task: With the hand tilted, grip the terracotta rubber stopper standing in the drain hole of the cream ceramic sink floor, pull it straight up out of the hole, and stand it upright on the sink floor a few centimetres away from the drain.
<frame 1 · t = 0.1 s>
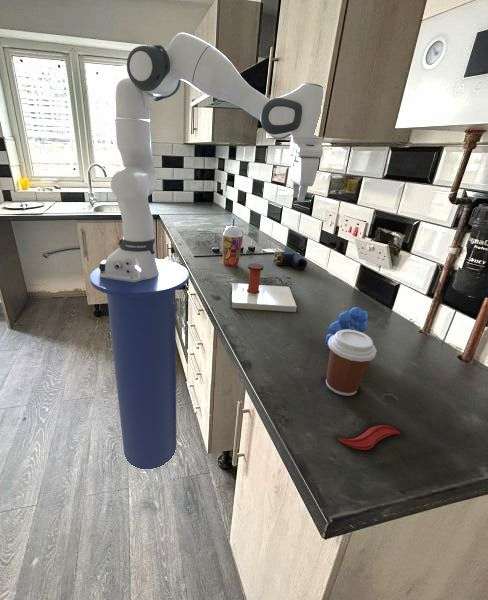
hand: (297, 199, 100), 32 cm above the countertop, tool pointing down, fingers open, 8 cm apart
cayenne pepper: (370, 439, 57), on the countertop
sink floor: (261, 299, 108), on the countertop
stopper: (252, 296, 110), resting in sink floor
pipe connector: (286, 265, 143), on the countertop
smoothie: (230, 266, 138), on the countertop
grapes: (339, 348, 83), on the countertop
coffee cup: (341, 386, 69), on the countertop
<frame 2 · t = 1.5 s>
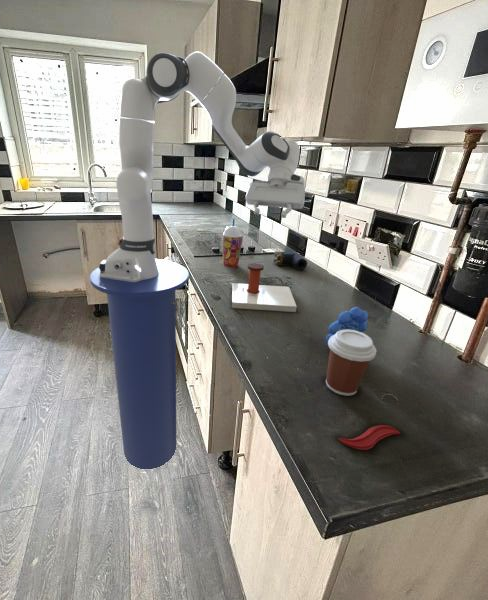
hand: (269, 215, 109), 25 cm above the countertop, tool tilted 45°, fingers open, 8 cm apart
nothing on the countertop moved.
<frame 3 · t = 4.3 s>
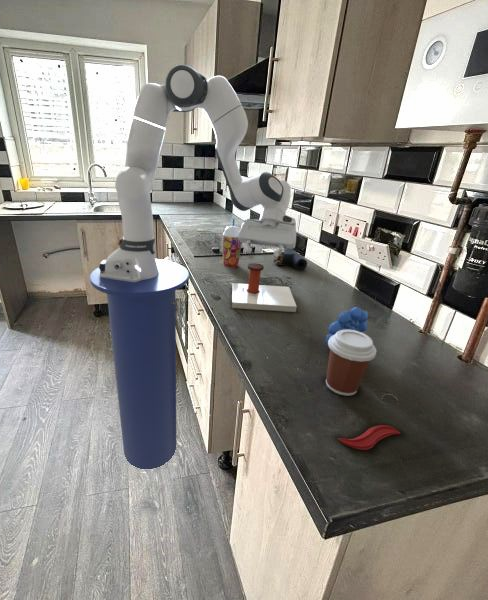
hand: (261, 255, 111), 13 cm above the countertop, tool tilted 45°, fingers open, 8 cm apart
nothing on the countertop moved.
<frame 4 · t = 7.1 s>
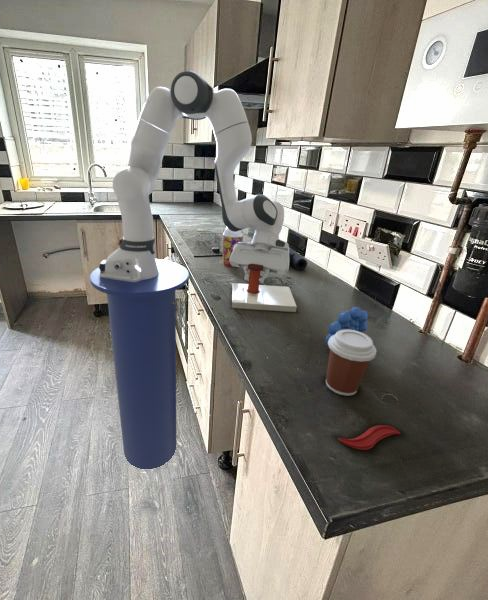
hand: (253, 280, 107), 6 cm above the countertop, tool tilted 45°, fingers closed on stopper, 3 cm apart
stopper: (252, 296, 110), resting in sink floor, touching gripper
everything else where it was.
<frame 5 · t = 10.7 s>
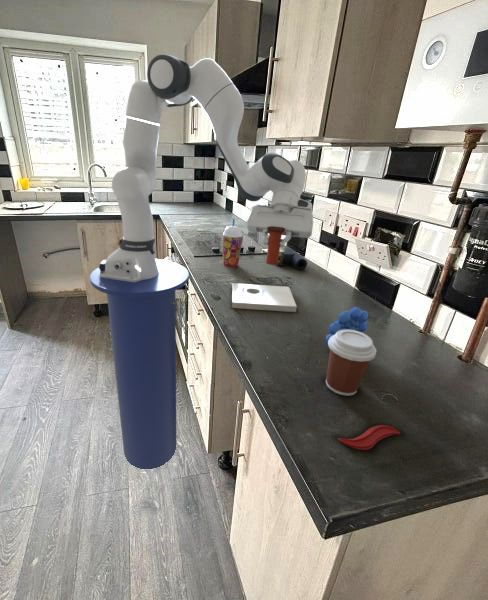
hand: (273, 244, 97), 20 cm above the countertop, tool tilted 45°, fingers closed on stopper, 3 cm apart
stopper: (271, 263, 101), point 14 cm above the countertop, touching gripper
everything else where it was.
when the fingers open (8 cm above the countertop, at t = 14.5 s): stopper stays where it is, resting on sink floor.
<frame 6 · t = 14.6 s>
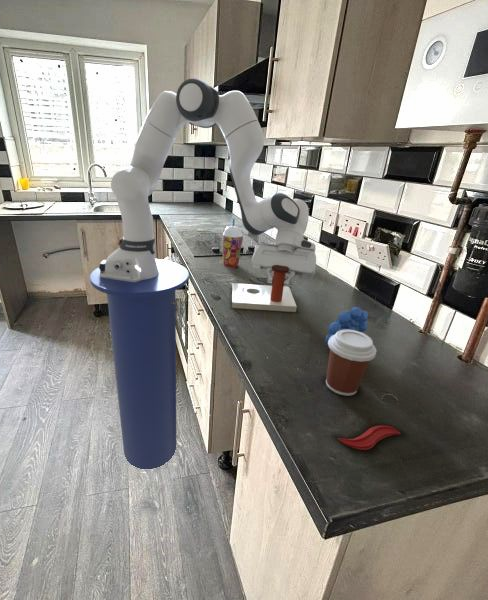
hand: (277, 283, 100), 8 cm above the countertop, tool tilted 45°, fingers open, 4 cm apart
stopper: (275, 299, 103), point 2 cm above the countertop, touching sink floor
everything else where it was.
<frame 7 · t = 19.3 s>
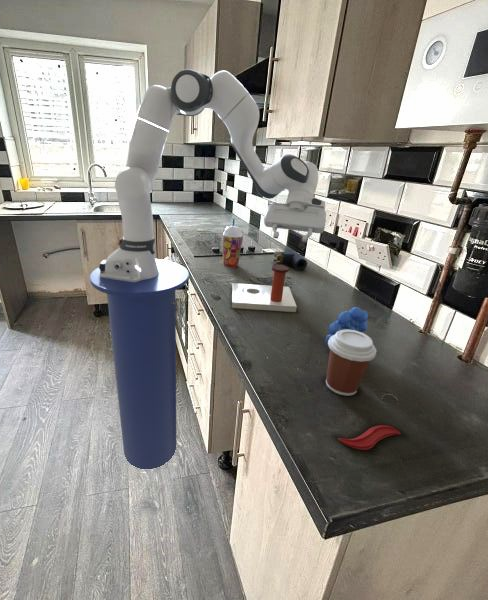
hand: (289, 239, 106), 19 cm above the countertop, tool tilted 45°, fingers open, 8 cm apart
nothing on the countertop moved.
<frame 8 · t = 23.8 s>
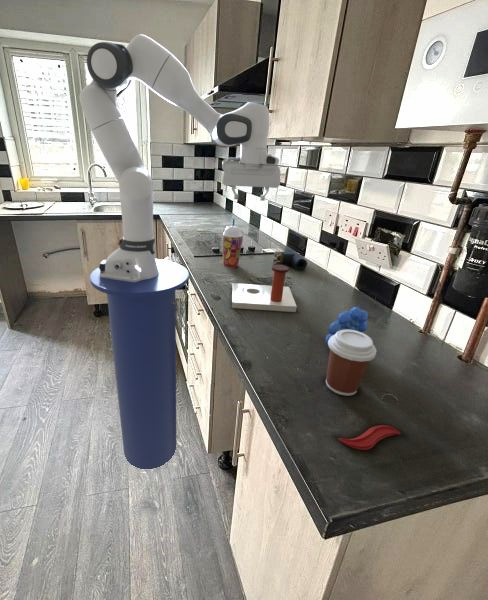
hand: (249, 199, 116), 29 cm above the countertop, tool pointing down, fingers open, 8 cm apart
nothing on the countertop moved.
at the end: stopper 0.5 cm from the target spot on the sink floor, point 2.0 cm above the sink floor's base; stopper tilted 0°; the gripper is holding nothing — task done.
